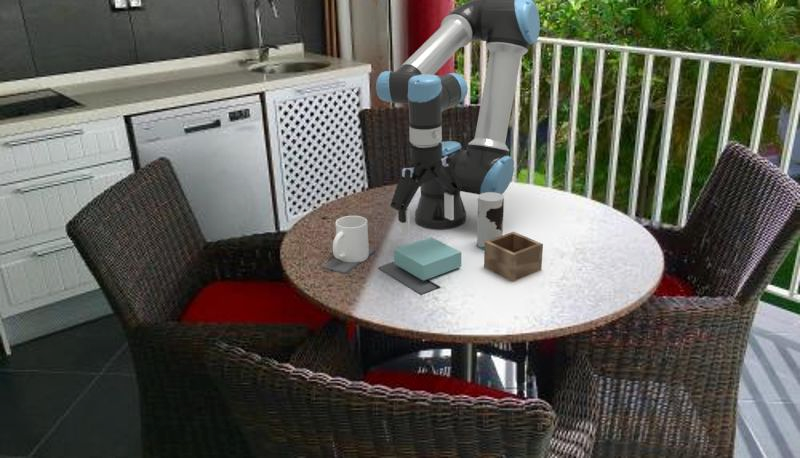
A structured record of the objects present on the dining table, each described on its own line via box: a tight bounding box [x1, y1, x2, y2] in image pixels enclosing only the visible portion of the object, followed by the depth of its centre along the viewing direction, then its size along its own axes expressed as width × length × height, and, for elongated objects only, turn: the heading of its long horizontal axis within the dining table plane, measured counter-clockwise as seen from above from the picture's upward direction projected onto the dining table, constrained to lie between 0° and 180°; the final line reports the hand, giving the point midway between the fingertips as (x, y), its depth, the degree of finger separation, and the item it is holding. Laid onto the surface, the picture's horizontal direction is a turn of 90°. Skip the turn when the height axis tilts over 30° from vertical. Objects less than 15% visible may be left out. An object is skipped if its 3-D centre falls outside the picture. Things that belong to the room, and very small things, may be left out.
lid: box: [393, 236, 462, 281], centre depth 171 cm, size 12×12×5 cm
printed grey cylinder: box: [476, 192, 505, 251], centre depth 180 cm, size 7×7×15 cm
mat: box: [377, 261, 442, 296], centre depth 172 cm, size 18×18×1 cm
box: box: [483, 231, 544, 283], centre depth 169 cm, size 10×10×8 cm
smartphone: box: [322, 247, 376, 275], centre depth 179 cm, size 8×1×15 cm
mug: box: [332, 215, 370, 263], centre depth 177 cm, size 12×8×10 cm
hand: (428, 225), depth 168 cm, fingers open, 13 cm apart
